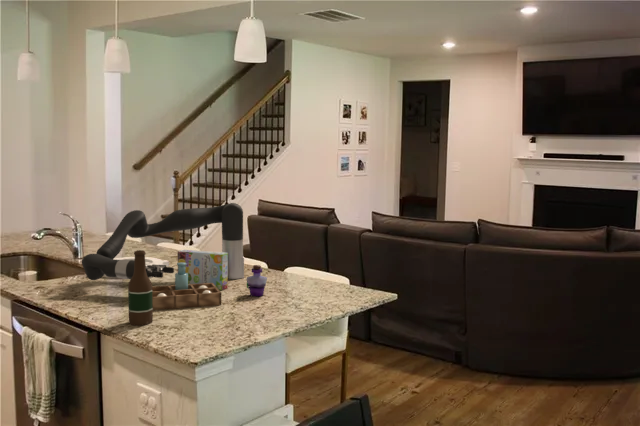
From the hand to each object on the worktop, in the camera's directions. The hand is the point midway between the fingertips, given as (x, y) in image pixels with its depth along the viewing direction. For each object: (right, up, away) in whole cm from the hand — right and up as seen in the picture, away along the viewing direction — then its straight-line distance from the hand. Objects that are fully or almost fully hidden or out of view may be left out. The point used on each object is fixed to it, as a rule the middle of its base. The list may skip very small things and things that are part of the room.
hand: (168, 272), depth 229 cm
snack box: (+9, -8, +20) cm, 24 cm away
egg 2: (+13, -9, +3) cm, 16 cm away
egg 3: (+16, -10, -5) cm, 19 cm away
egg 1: (+1, -10, -11) cm, 15 cm away
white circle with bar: (-29, -5, +48) cm, 57 cm away
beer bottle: (-1, -14, -31) cm, 34 cm away
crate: (+7, -11, -4) cm, 13 cm away
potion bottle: (+33, -10, +8) cm, 35 cm away
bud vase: (+5, -9, 0) cm, 11 cm away
